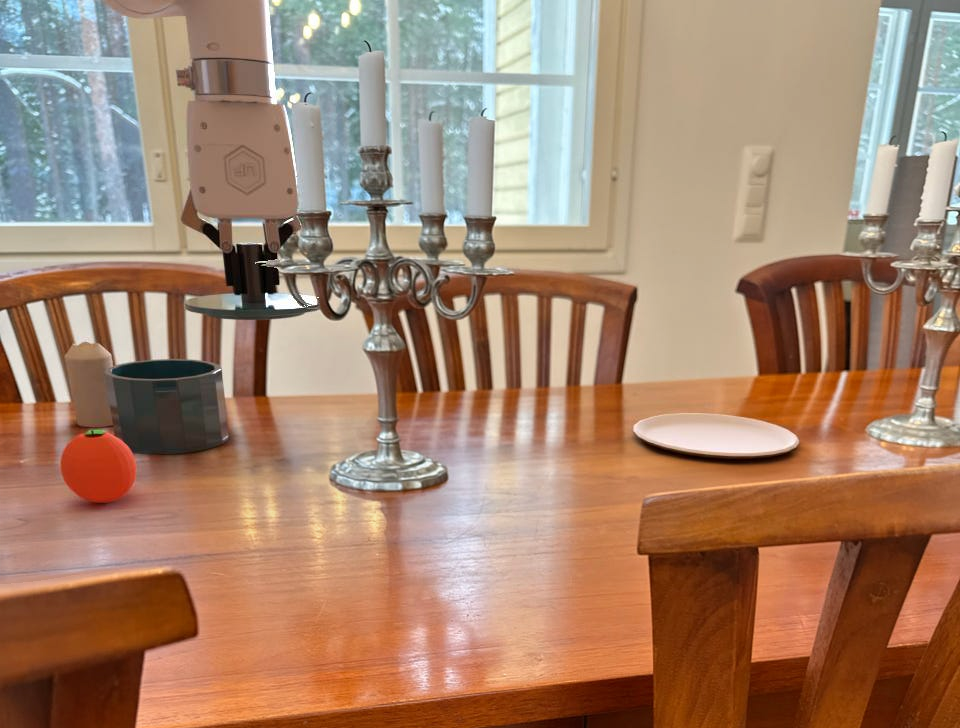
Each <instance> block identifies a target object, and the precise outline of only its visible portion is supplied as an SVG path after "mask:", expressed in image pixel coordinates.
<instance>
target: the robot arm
mask: <svg viewBox="0 0 960 728" xmlns="http://www.w3.org/2000/svg"><path fill="white" fill-rule="evenodd" d="M101 1H102V2H103V3H104V4H105V5H106V6H107V7H108V8H110V9H111V10H112V11H114V12H116V13H117V14H119V15H122V16H125V17H128V18H132V19H141V20H142V19H143V20H145V19H159V18H172V17H185V22H186V32H187V43H188V50H189V59H190V65H188V66H187V67H186V68H185V67H184V68H183V69H175V77H176V84H177V87H185V88H186V89H189V90H190V91H191V92H193V96H194V100H188V101H187V107H186V149H187V164H188V175H189V177H188V178H189V186H190V189H189V191H188V194H187V196H186V197H187V198H186V200H185V202H184V205H183V209H182V212H181V214H180V217H179V218H180V222H181V223H182V225H184V226H186V227H188V228H190V229H192V230H195V232H198V233H200V234H202V235H205V236H206V238H208V239H209V240H210V241H211V242H212V243H213V244H214V245H215V246H216V247H217V248H219V250H221V252H222V260H223V270H224V279H225V286H226V287H232V292H233V293H234V294H235V295H240V294H242V284H241V274H240V264H239V255H238V254H237V249H236V245H234V244H233V223H232V222H233V220H232V219H235V220H236V219H237V220H238V219H240V220H244V219H245V220H253V219H254V220H261V223H262V230H263V231H262V232H263V236H264V243H263V244H262V248H263V260H264V261H268V260H275V259H278V260H279V256H278V253H279V252H280V250H281V249H282V247H283V246H284V245H285V244H286V243H287V241H288V240H290V238H291V236H292V235H293V234H295V233H297V232H300V231H301V230H302V229H301V225H300V222H299V220H298V218H297V217H296V213H297V209H298V205H299V202H298V194H299V187H298V188H297V185H298V176H297V168H296V167H297V166H296V160H295V153H294V146H293V140H292V132H291V126H290V122H289V117H288V114H287V109H286V105H285V104H283V103H282V104H280V103H277V99H276V98H277V97H276V84H275V72H274V59H273V58H274V57H273V45H272V31H271V18H270V17H271V16H270V5H269V0H101ZM274 118H275V119H274ZM296 176H297V177H296ZM198 213H199V215H202V216H204V217H207V218H211V219H216V220H217V221H216V223H217V224H216V225H217V227H215V226H214V225H213V224H212V223H210V222H209V221H207V220H205V219H203V218H201V217H199V215H198ZM288 218H290V219H288ZM279 219H280V220H281V219H288V220H286V221H285V222H282V223H280V225H279V226H278V220H279ZM264 264H266V263H264ZM264 272H265V283H266V293H267V294H269V295H274V294H275V293H276V292H275V286H280V284H281V281H280V269H279V270H278V269H277V268H274V267H267V266H264ZM233 293H232V294H233Z"/></svg>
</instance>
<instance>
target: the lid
mask: <svg viewBox="0 0 960 728" xmlns="http://www.w3.org/2000/svg"><path fill="white" fill-rule="evenodd" d="M235 249H236V253H237V254H238V255H239V264H240V274H241V284H242V294H240V295H235V294H234V293H221V294H219V293H217V294H210V295H202V296H201V295H200V296H195V297H191V298H188V299H185V300H184V301H183V308H184V310H186V311H188V312H191V313H195V314H201V315H205V316H207V317H210V318H214V319H221V320H231V321H234V320H235V321H267V320H269V321H270V320H282V319H291V318H296V317H300V316H303V315H305V314H306V313H312V312H316V311H318V310H317V309H307V308H305V307H306V306H305V305H304V306H305V307H302V306H300V305H299V304H298V303H297V301H296V300H295V299H294V298H293V296H292V295H291V294H292V293H283V292H282V293H279V292H275V294H274V295H269V294H267V293H266V283H265V272H264V266H261V265H262V264H264V263H256V264H255V262H258V261H264V260H263V251H264V249H263V243H262V242H236V243H235ZM300 295H301V297H302V299H303V300H304V301H305V302H306V303H309V304H312V305H317V299H316V296H312V295H305V294H300ZM307 305H308V304H307ZM308 306H311V305H308ZM308 306H307V307H308ZM314 308H315V307H314Z"/></svg>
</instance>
